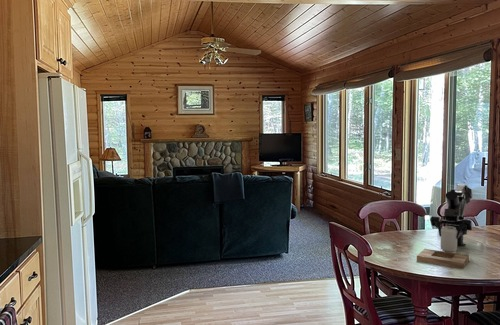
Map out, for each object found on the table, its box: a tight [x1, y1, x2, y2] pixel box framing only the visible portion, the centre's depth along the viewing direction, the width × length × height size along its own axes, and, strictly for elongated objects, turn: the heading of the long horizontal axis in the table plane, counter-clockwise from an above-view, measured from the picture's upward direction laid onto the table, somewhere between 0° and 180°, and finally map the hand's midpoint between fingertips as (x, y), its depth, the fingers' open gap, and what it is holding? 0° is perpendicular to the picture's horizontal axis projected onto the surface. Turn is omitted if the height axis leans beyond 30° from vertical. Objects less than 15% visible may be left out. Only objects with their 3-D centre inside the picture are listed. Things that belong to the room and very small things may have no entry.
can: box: [440, 225, 458, 253], centre depth 210 cm, size 8×8×12 cm
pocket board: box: [416, 248, 470, 269], centre depth 199 cm, size 14×20×2 cm
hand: (448, 237), depth 208 cm, fingers closed on can, 7 cm apart
